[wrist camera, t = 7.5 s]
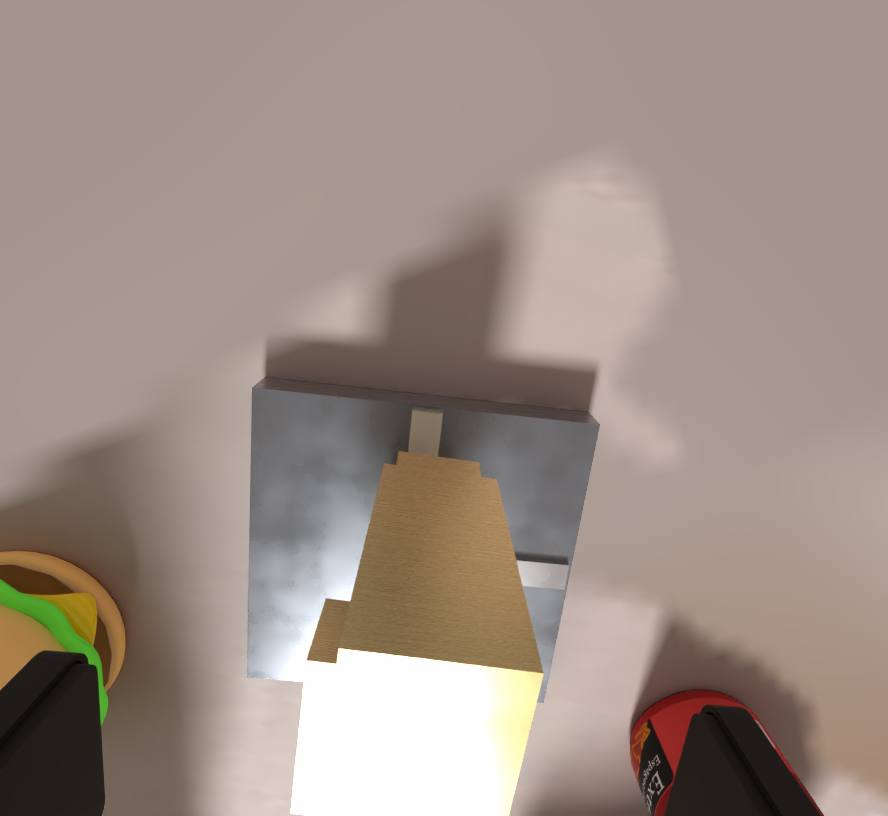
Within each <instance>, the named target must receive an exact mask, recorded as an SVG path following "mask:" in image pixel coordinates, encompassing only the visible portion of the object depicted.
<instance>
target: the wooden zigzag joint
mask: <svg viewBox="0 0 888 816" xmlns="http://www.w3.org/2000/svg"><path fill="white" fill-rule="evenodd" d="M543 675H544V672H543V668H542V664H541V660H540V656H539V652H538V647H537V643H536V639H535V635H534V631H533V627H532V623H531V619H530V614H529V610H528V606H527V602H526V598H525V594H524V590H523V586H522V582H521V577H520V573H519V569H518V565H517V561H516V557H515V553H514V549H513V544H512V540H511V536H510V532H509V528H508V524H507V520H506V516H505V512H504V507H503V503H502V499H501V495H500V491H499V487H498V483H497V479H493V478H486V477H481V471H480V466H479V462H473V461H466V460H459V459H452V458H445V457H437V456H430V455H423V454H416V453H409V452H402V451H399V452H398V457H397V462H396V465H392V464H385V463H384V466H383V470H382V474H381V478H380V482H379V486H378V490H377V494H376V498H375V502H374V506H373V511H372V515H371V519H370V523H369V527H368V531H367V535H366V539H365V543H364V547H363V551H362V555H361V559H360V563H359V567H358V572H357V576H356V580H355V584H354V588H353V592H352V596H351V600H350V601H344V600H336V599H328V598H326V599H325V602H324V605H323V609H322V612H321V615H320V618H319V621H318V624H317V628H316V631H315V634H314V637H313V640H312V643H311V647H310V650H309V653H308V656H307V659H306V667H305V676H304V686H303V696H302V706H301V716H300V726H299V735H298V745H297V755H296V765H295V775H294V785H293V794H292V804H291V813H293V814H302V815H311V816H509V812H510V808H511V804H512V800H513V796H514V792H515V788H516V784H517V780H518V776H519V772H520V768H521V764H522V760H523V756H524V752H525V748H526V744H527V740H528V735H529V731H530V727H531V723H532V719H533V715H534V711H535V707H536V703H537V699H538V695H539V691H540V687H541V683H542V679H543Z"/></svg>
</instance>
